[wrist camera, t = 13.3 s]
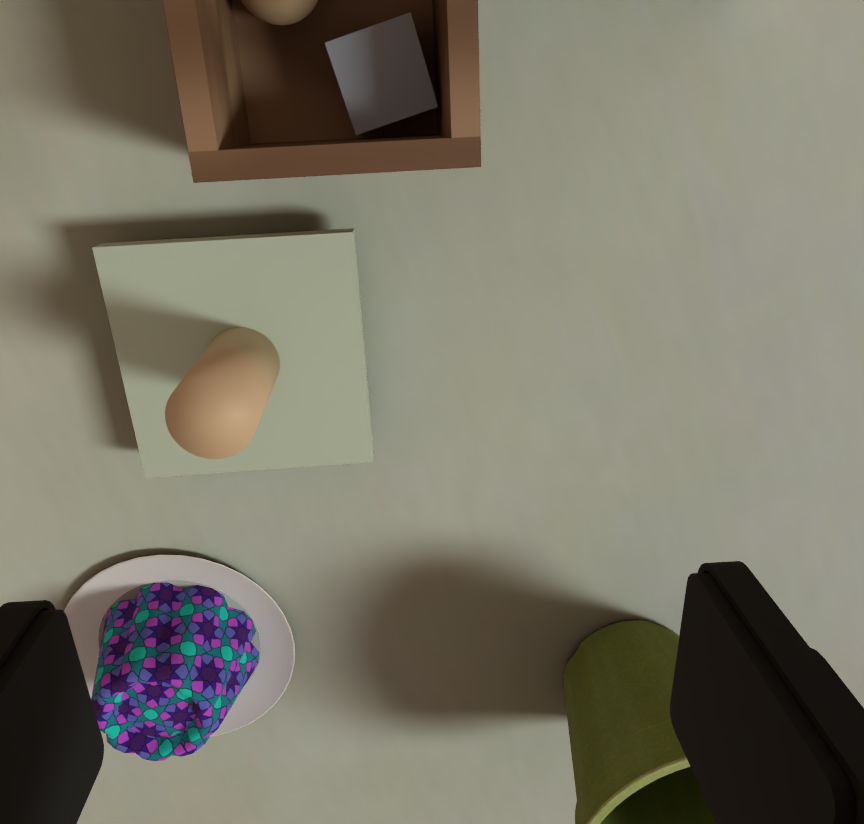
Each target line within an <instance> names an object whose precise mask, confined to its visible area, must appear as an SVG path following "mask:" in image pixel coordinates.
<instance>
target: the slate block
mask: <svg viewBox="0 0 864 824" xmlns="http://www.w3.org/2000/svg"><path fill="white" fill-rule="evenodd" d="M325 45H326V48H327V51H328V54H329V57H330V60H331V63H332V66H333V69H334V72H335V75H336V78H337V81H338V84H339V87H340V90H341V93H342V96H343V98H344V101H345V104H346V107H347V110H348V113H349V116H350V119H351V122H352V125H353V128H354V131H355V134H356V135H358V134H361V133H364V132H367V131H370V130H373V129H376V128H379V127H381V126H384V125H387V124H390V123H393V122H396V121H399V120H402V119H404V118H407V117H410V116H413V115H416V114H419V113H422V112H425V111H427V110H430V109H433V108H436V107H438V105H437V101H436V98H435V94H434V91H433V87H432V84H431V81H430V77H429V74H428V70H427V67H426V63H425V60H424V56H423V53H422V50H421V46H420V43H419V39H418V36H417V32H416V29H415V25H414V22H413V19H412V15H411V12H410V13H407V14H404V15H401V16H398V17H396V18H393V19H390V20H387V21H384V22H382V23H379V24H376V25H373V26H370V27H368V28H365V29H362V30H359V31H356V32H354V33H351V34H348V35H345V36H342V37H340V38H337V39H334V40H331V41H328V42H326V43H325Z"/></svg>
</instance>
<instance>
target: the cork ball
mask: <svg viewBox="0 0 864 824" xmlns="http://www.w3.org/2000/svg"><path fill="white" fill-rule="evenodd" d="M241 1H242V3H243V4H244V5H245V7H246V8H247V9H248V10H249V11H250V12H251V13H252V14H253V15H255V16H256V17H257V18H259V19H261V20H263V21H265V22H267V23H270V24H274V25H290V24H294V23H296V22H299V21H301V20H302V19H304V18H305V17H306V16H307V15H309V14H310V12H311V11H312V10H313V9H314V7H315V6H316V4H317V2H318V0H241Z"/></svg>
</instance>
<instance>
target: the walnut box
mask: <svg viewBox="0 0 864 824" xmlns="http://www.w3.org/2000/svg"><path fill="white" fill-rule="evenodd" d="M163 5H164V11H165V17H166V23H167V29H168V35H169V40H170V46H171V52H172V58H173V64H174V70H175V76H176V82H177V88H178V94H179V100H180V105H181V111H182V117H183V123H184V129H185V135H186V141H187V147H188V153H189V159H190V165H191V171H192V176H193V182H194V183H197V182H215V181H233V180H251V179H269V178H287V177H306V176H324V175H342V174H360V173H378V172H396V171H414V170H433V169H451V168H469V167H481V138H480V88H479V39H478V0H318V2H317V4H316V6H315V7H314V9H313V10H312V11H311V12H310V14H309V15H307V16H306V17H305V18H304V19H302V20H301V21H299V22H296V23H294V24H290V25H274V24H270V23H267V22H265V21H263V20H261V19H259V18H257V17H256V16H255V15H253V14H252V13H251V12H250V11H249V10H248V9H247V8H246V7H245V5H244V4H243V3H242V1H241V0H163ZM410 12H411V15H412V19H413V22H414V25H415V29H416V32H417V36H418V39H419V43H420V46H421V50H422V53H423V56H424V60H425V63H426V67H427V70H428V74H429V77H430V81H431V84H432V87H433V91H434V94H435V98H436V101H437V105H438V107H436V108H433V109H430V110H427V111H425V112H422V113H419V114H416V115H413V116H410V117H407V118H404V119H402V120H399V121H396V122H393V123H390V124H387V125H384V126H381V127H379V128H376V129H373V130H370V131H367V132H364V133H361V134H358V135H356V134H355V131H354V128H353V125H352V122H351V119H350V116H349V113H348V110H347V107H346V104H345V101H344V98H343V96H342V93H341V90H340V87H339V84H338V81H337V78H336V75H335V72H334V69H333V66H332V63H331V60H330V57H329V54H328V51H327V48H326V45H325V43H326V42H328V41H331V40H334V39H337V38H340V37H342V36H345V35H348V34H351V33H354V32H356V31H359V30H362V29H365V28H368V27H370V26H373V25H376V24H379V23H382V22H384V21H387V20H390V19H393V18H396V17H398V16H401V15H404V14H407V13H410Z"/></svg>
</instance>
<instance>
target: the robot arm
mask: <svg viewBox="0 0 864 824" xmlns="http://www.w3.org/2000/svg"><path fill="white" fill-rule="evenodd" d="M670 716H671V722H672V726H673V729H674V731H675V734H676V736H677V738H678V740H679V742H680V745H681V747H682V749H683V751H684V753H685V756H686V758H687V760H688V762H689V765H690V767H691V769H692V771H693V773H694V776H695V778H696V780H697V782H698V784H699V787H700V789H701V791H702V793H703V795H704V798H705V800H706V802H707V804H708V806H709V809H710V811H711V813H712V815H713V817H714V820H715V822H716V824H864V708H863V707H862V706H861V704H860V703H859V702H858V701H857V699H856V698H855V697H854V695H853V694H852V693H851V692H850V690H849V689H848V688H847V687H846V685H845V684H844V683H843V681H842V680H841V679H840V678H839V676H838V675H837V674H836V673H835V671H834V670H833V669H832V667H831V666H830V665H829V664H828V662H827V661H826V660H825V659H824V658H823V657H822V656H821V655H820V654H819V653H818V652H817V651H816V650H814V649H812V648H810V647H809V646H808V645H807V643H806V642H805V641H804V640H803V638H802V637H801V636H800V634H799V633H798V632H797V630H796V629H795V628H794V627H793V625H792V624H791V623H790V621H789V620H788V619H787V618H786V616H785V615H784V614H783V612H782V611H781V610H780V608H779V607H778V606H777V605H776V603H775V602H774V601H773V599H772V598H771V597H770V596H769V594H768V593H767V592H766V590H765V589H764V588H763V586H762V585H761V584H760V583H759V581H758V580H757V579H756V577H755V576H754V575H753V573H752V572H751V571H750V570H749V568H748V567H747V566H746V565H745V564H744V563H743V562H740V561H734V562H717V563H704V564H702V565H701V566H700V568H699V571H698V573H694V574H690V576H689V577H688V581H687V587H686V594H685V601H684V608H683V615H682V622H681V629H680V636H679V643H678V650H677V658H676V665H675V672H674V679H673V686H672V693H671V700H670ZM103 754H104V744H103V739H102V735H101V732H100V728H99V725H98V722H97V718H96V715H95V711H94V708H93V704H92V701H91V698H90V694H89V691H88V687H87V684H86V680H85V677H84V673H83V670H82V667H81V663H80V660H79V656H78V653H77V649H76V646H75V643H74V639H73V636H72V632H71V629H70V625H69V622H68V618H67V616H66V614H65V612H64V611H63V610H55V607H54V605H53V604H52V603H51V602H50V601H46V600H42V601H25V602H8V603H6V604H3V605H2V606H1V607H0V824H76V823H77V821H78V819H79V816H80V814H81V812H82V809H83V807H84V805H85V803H86V800H87V798H88V796H89V793H90V791H91V789H92V787H93V784H94V782H95V780H96V777H97V775H98V773H99V770H100V768H101V765H102V760H103Z"/></svg>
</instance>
